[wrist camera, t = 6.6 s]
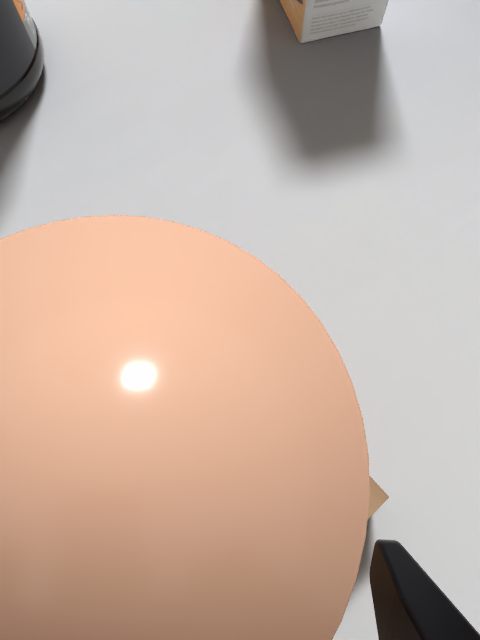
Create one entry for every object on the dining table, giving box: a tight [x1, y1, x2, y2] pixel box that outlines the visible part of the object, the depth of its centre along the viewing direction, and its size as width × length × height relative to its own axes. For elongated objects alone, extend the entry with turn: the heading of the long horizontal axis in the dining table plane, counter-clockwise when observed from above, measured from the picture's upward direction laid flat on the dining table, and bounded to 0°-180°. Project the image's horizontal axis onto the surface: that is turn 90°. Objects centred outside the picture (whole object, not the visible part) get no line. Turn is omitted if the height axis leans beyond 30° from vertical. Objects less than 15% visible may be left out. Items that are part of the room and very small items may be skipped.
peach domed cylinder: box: [0, 215, 370, 640], centre depth 11 cm, size 7×7×12 cm
